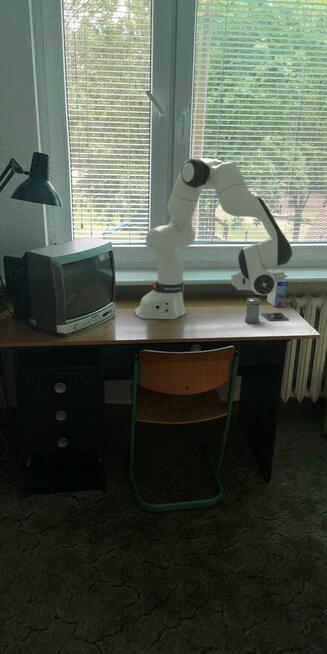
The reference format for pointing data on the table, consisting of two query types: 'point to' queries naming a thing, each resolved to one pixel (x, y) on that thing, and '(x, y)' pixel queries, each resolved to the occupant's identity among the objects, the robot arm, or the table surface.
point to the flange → (274, 316)
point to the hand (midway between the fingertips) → (256, 275)
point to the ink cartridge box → (278, 294)
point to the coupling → (252, 310)
